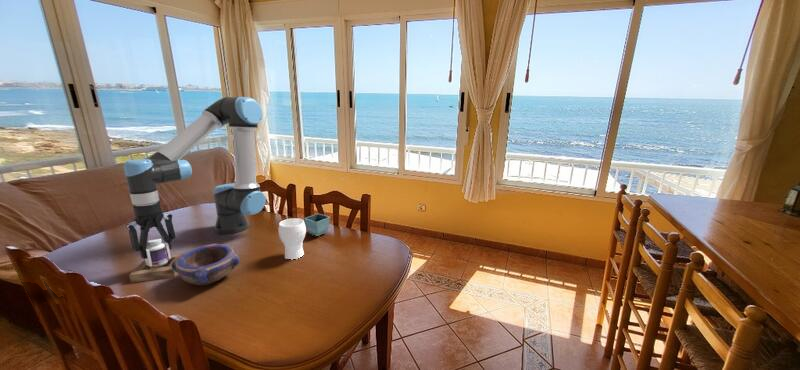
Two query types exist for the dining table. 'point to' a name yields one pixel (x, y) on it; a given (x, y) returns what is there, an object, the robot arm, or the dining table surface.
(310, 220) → the flower pot
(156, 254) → the pill bottle
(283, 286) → the dining table surface
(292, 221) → the cup
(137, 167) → the robot arm
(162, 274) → the brown square frame
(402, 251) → the dining table surface
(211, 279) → the bowl
